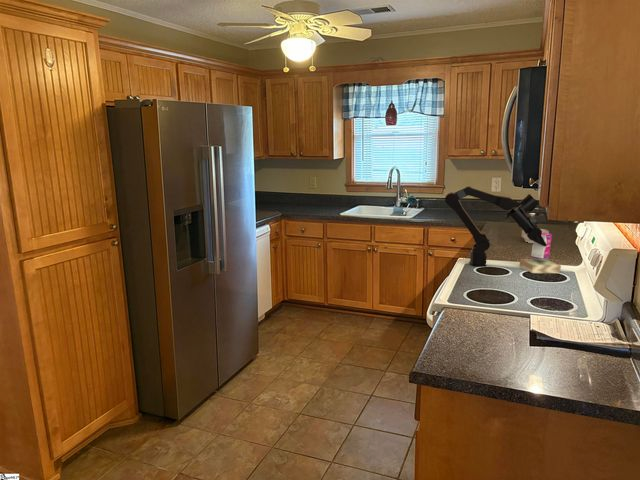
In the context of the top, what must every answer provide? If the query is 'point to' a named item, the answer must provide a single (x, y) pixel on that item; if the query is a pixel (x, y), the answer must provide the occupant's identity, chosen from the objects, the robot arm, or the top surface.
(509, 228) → the top surface
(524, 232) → the paper bowls
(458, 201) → the robot arm
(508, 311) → the top surface
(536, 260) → the block
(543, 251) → the supplement box
